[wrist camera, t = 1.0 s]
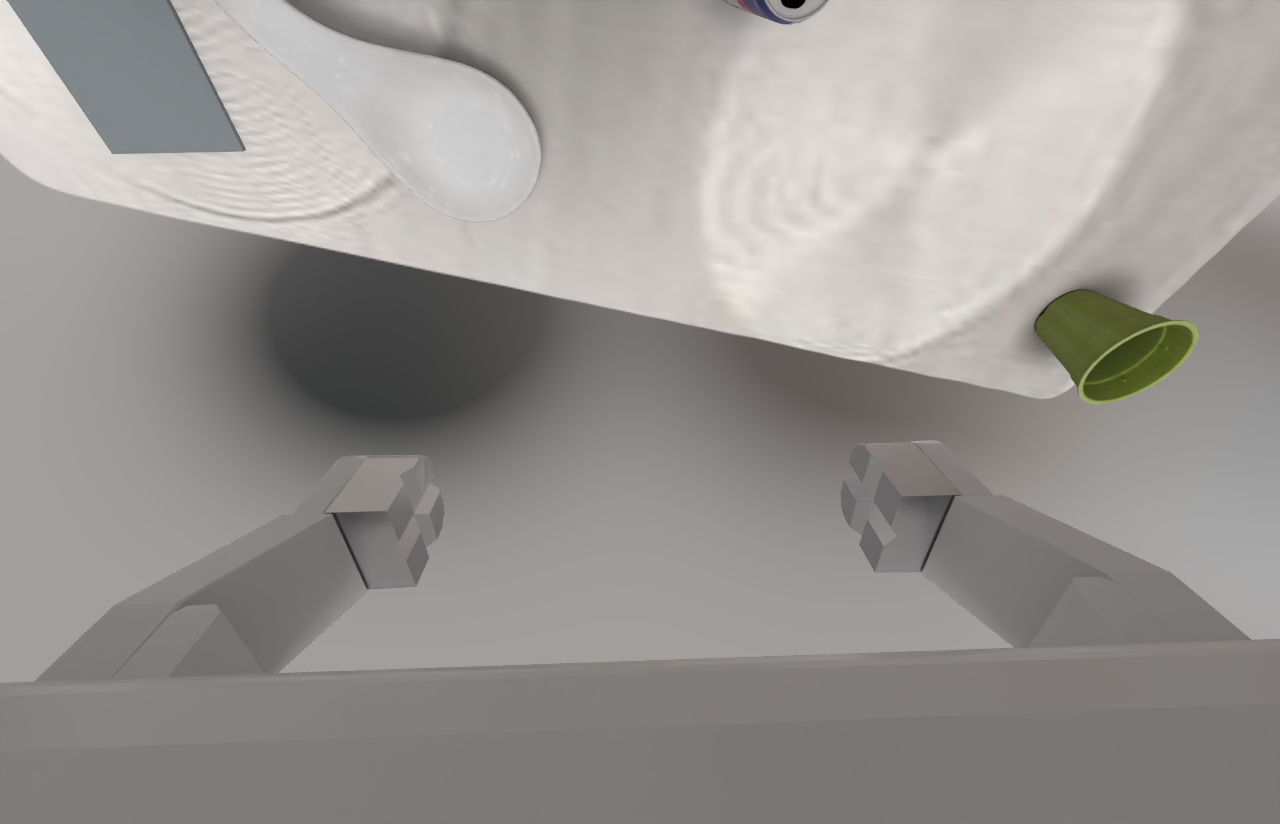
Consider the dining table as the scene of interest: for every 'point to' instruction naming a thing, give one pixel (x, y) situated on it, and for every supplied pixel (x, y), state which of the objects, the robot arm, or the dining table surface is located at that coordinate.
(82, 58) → the felt mat
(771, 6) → the energy drink
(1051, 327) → the plant pot
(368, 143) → the spoon rest
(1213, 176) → the dining table surface
